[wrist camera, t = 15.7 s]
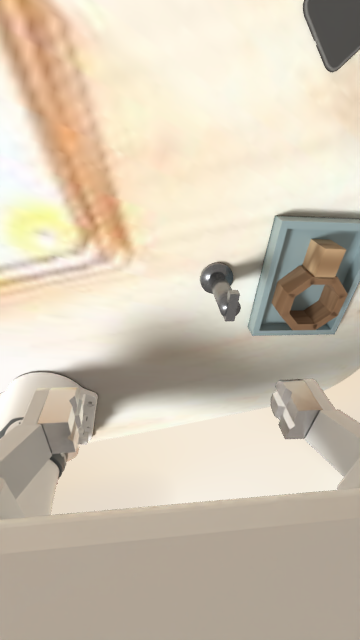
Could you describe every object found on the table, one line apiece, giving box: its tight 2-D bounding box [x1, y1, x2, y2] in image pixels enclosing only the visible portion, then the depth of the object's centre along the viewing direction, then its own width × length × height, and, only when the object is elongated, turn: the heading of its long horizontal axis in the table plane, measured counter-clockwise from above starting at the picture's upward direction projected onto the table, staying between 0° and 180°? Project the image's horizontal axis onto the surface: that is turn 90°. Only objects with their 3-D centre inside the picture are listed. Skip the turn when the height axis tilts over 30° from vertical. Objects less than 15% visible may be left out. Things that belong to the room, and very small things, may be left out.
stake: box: [200, 263, 241, 321], centre depth 39 cm, size 5×5×10 cm
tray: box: [248, 216, 360, 336], centre depth 44 cm, size 19×15×2 cm
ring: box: [271, 239, 348, 330], centre depth 43 cm, size 14×9×4 cm
